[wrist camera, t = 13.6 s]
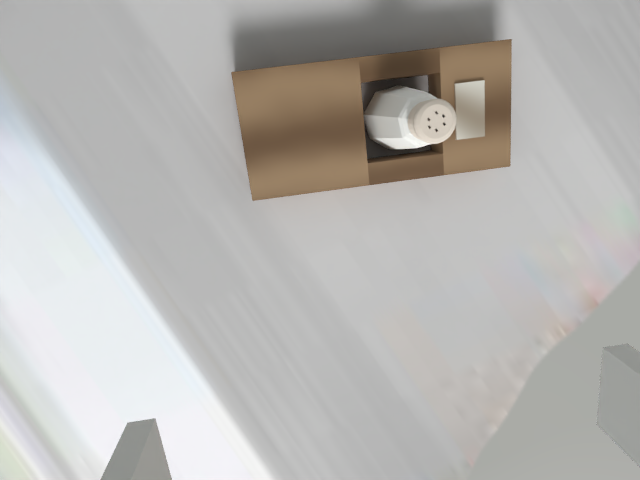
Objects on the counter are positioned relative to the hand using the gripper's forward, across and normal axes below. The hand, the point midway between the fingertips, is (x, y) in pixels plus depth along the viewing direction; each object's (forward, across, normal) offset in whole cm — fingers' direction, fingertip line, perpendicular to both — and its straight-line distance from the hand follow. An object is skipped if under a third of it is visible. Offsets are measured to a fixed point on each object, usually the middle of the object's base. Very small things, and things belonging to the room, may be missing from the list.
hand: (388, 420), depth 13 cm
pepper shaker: (+29, +8, +7) cm, 31 cm away
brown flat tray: (+29, +6, +7) cm, 30 cm away
